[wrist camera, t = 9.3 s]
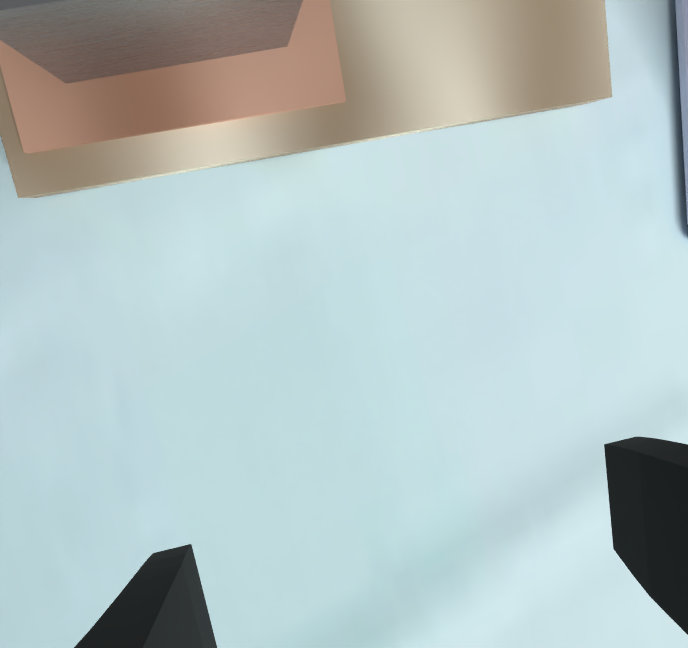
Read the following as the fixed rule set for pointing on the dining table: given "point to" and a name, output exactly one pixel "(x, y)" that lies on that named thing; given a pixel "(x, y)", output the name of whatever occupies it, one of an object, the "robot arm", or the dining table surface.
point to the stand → (305, 90)
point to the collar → (140, 32)
